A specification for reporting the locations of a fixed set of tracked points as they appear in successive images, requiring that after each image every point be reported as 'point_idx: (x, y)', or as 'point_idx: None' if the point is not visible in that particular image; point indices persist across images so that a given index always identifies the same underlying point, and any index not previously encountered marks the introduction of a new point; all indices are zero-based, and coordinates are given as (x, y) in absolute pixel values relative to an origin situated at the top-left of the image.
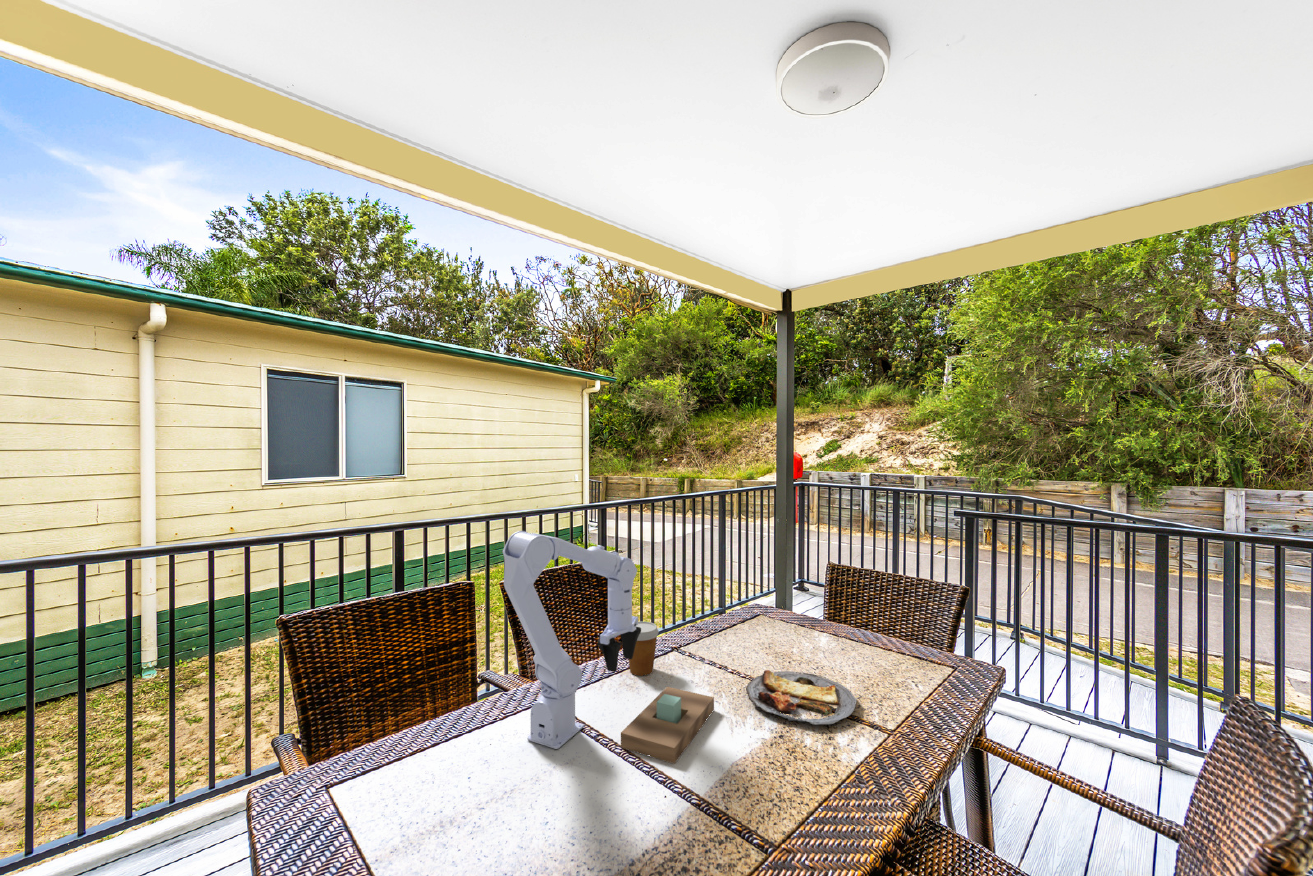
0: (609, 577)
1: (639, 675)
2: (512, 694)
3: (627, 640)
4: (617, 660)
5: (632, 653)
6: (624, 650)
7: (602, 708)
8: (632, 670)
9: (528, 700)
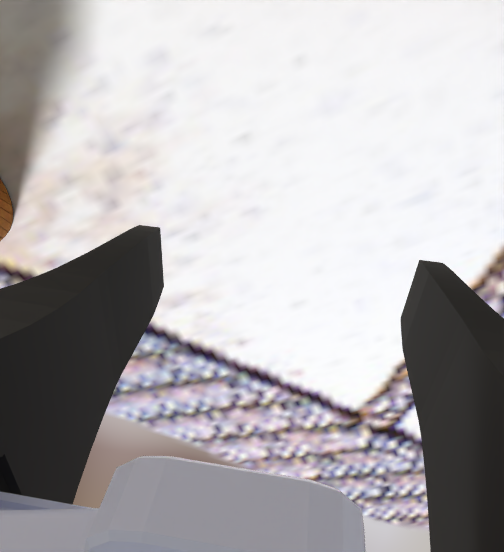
0: None
1: (2, 184)
2: (355, 501)
3: (91, 370)
4: (459, 306)
5: (137, 243)
6: (141, 322)
7: (364, 222)
8: (2, 229)
9: (378, 460)
